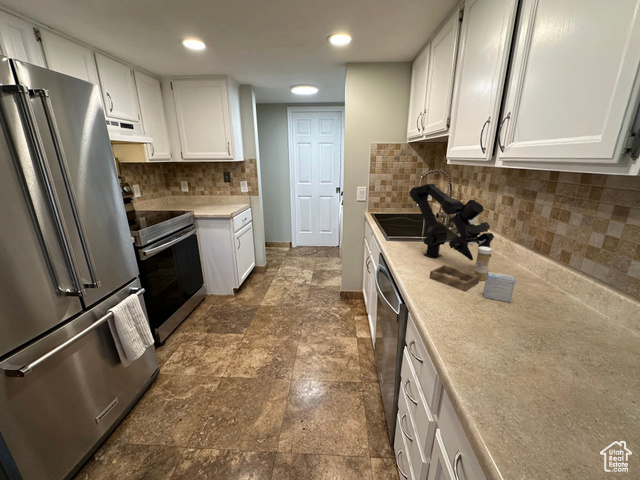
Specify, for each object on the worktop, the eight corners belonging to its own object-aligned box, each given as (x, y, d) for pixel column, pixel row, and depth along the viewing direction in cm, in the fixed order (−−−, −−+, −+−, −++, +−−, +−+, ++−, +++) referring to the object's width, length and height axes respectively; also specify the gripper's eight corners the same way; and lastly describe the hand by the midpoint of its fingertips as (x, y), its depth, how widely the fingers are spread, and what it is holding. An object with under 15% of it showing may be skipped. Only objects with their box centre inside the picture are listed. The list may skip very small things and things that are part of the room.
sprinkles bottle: (472, 279, 108) (477, 248, 104) (474, 275, 112) (479, 245, 108) (484, 282, 105) (490, 250, 101) (486, 278, 109) (492, 247, 105)
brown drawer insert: (429, 278, 110) (430, 271, 109) (443, 271, 116) (444, 265, 115) (465, 291, 98) (466, 284, 98) (478, 283, 105) (479, 276, 104)
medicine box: (508, 297, 94) (513, 274, 92) (510, 303, 90) (516, 280, 88) (482, 292, 98) (486, 271, 95) (484, 298, 94) (488, 276, 91)
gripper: (458, 217, 104) (477, 252, 97) (494, 213, 109) (514, 247, 102) (441, 231, 114) (457, 264, 107) (475, 227, 119) (493, 259, 112)
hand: (481, 258), depth 107 cm, fingers open, 9 cm apart
